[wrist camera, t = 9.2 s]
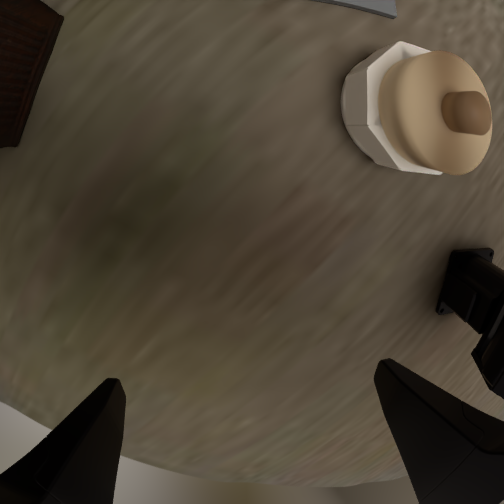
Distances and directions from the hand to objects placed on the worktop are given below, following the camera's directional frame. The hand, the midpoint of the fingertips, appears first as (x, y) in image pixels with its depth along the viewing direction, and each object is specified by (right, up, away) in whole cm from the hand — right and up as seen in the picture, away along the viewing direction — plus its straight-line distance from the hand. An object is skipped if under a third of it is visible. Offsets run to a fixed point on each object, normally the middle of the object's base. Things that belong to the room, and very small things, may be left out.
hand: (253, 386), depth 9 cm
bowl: (+10, +14, +8) cm, 19 cm away
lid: (+10, +13, +5) cm, 17 cm away
